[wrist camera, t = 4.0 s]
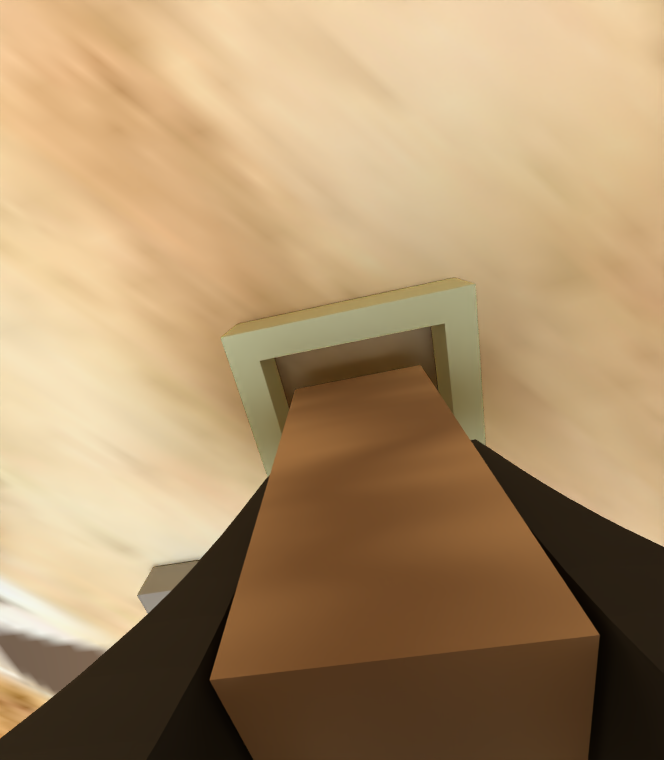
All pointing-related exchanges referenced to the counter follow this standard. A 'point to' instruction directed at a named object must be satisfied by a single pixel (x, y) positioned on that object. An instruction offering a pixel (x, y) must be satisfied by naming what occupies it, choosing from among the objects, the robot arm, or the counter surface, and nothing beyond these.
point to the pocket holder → (354, 323)
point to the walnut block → (399, 596)
